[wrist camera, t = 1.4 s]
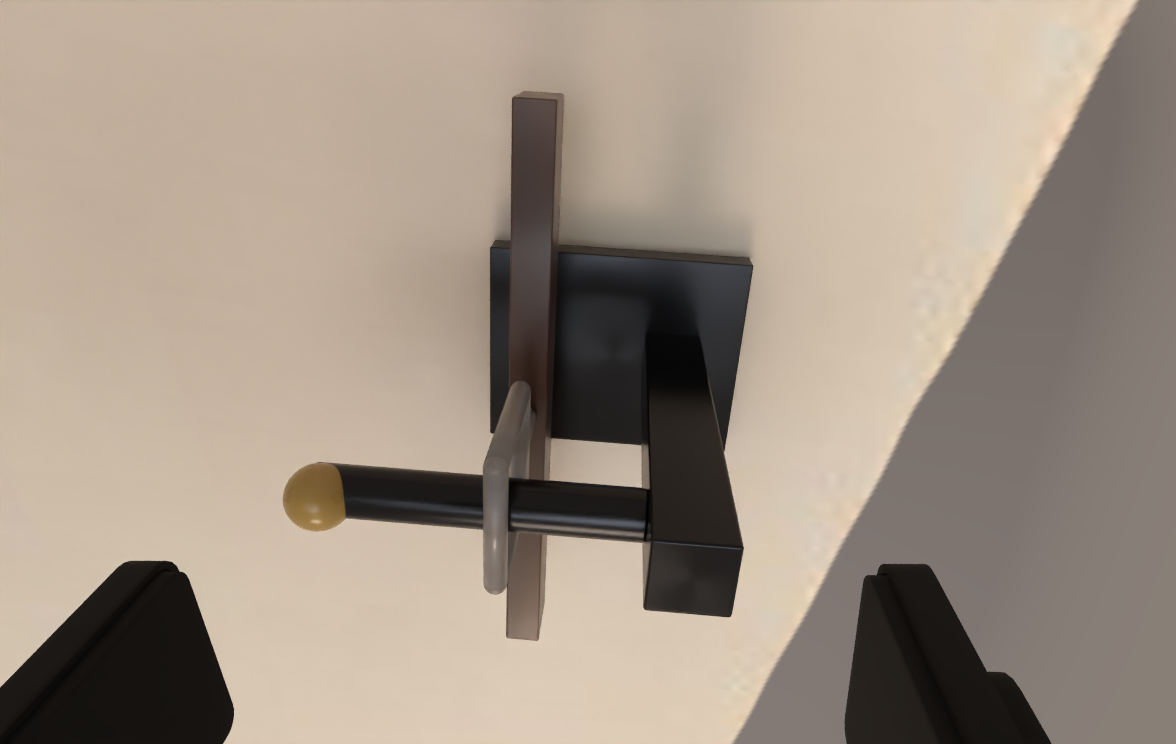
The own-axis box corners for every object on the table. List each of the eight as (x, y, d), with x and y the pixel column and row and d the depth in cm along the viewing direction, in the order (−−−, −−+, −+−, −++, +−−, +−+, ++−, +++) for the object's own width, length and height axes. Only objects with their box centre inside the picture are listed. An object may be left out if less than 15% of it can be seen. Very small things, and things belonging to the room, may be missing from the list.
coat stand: (415, 415, 36) (270, 666, 22) (405, 233, 32) (223, 393, 18) (721, 439, 35) (778, 711, 21) (749, 257, 32) (841, 442, 17)
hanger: (514, 599, 34) (473, 791, 25) (522, 90, 25) (461, 122, 16) (544, 602, 34) (513, 795, 25) (564, 93, 24) (525, 127, 16)
